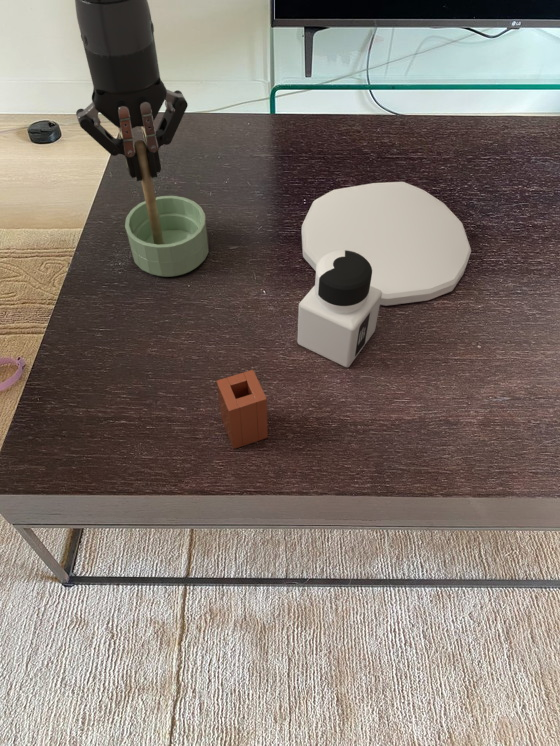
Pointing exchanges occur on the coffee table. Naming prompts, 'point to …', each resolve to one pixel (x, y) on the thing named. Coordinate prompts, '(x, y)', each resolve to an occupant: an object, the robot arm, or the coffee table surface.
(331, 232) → the decorative plate
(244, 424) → the utensil block
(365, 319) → the container
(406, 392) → the coffee table surface
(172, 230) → the bowl
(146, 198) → the cooking stick
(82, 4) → the robot arm
